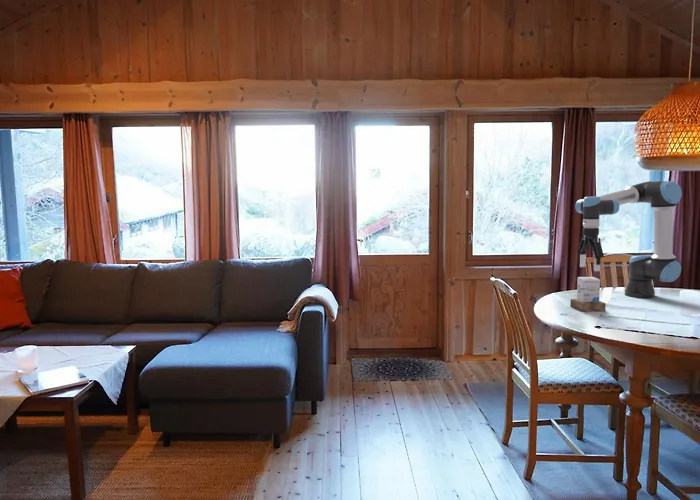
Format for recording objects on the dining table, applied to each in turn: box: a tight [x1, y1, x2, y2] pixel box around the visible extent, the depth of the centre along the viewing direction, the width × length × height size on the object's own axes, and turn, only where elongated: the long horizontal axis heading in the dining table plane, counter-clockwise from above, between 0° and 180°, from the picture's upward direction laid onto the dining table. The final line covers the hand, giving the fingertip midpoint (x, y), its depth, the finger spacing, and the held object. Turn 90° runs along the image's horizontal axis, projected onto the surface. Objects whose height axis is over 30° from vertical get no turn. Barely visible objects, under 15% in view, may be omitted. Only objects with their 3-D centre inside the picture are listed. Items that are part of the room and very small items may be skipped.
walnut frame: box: [569, 298, 606, 313], centre depth 265 cm, size 12×12×4 cm
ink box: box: [576, 276, 601, 302], centre depth 264 cm, size 8×8×12 cm
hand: (589, 269), depth 263 cm, fingers open, 13 cm apart
